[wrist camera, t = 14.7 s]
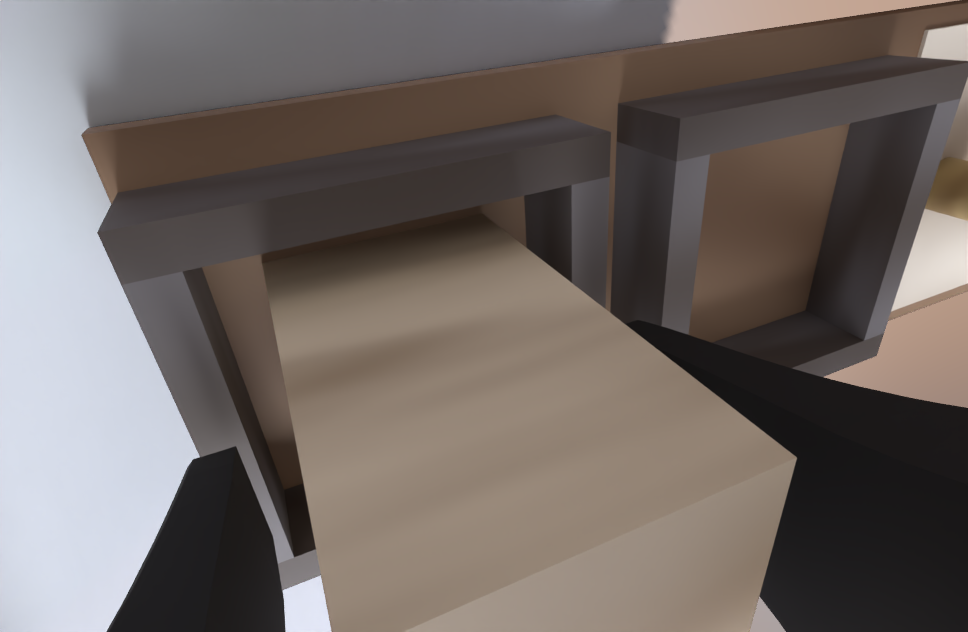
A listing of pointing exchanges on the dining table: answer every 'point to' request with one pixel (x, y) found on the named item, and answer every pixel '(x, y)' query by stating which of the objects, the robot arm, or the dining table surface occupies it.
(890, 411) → the robot arm
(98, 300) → the dining table surface
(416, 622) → the maple peg
